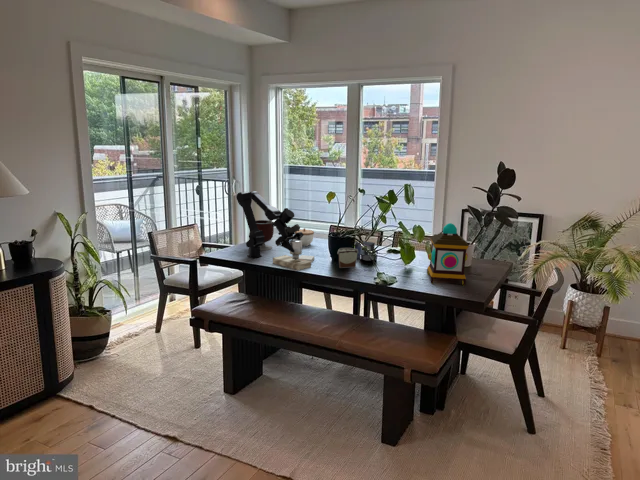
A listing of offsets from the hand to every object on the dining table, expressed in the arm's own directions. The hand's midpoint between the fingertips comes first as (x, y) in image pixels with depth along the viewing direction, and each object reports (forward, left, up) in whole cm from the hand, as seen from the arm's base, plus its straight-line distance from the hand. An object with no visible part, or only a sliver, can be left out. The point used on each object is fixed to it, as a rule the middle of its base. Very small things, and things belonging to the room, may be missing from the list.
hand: (297, 251), depth 263 cm
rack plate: (-5, 0, -9) cm, 10 cm away
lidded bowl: (-35, +42, -9) cm, 56 cm away
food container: (+17, +21, -9) cm, 29 cm away
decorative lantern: (+69, +39, -9) cm, 80 cm away
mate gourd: (-45, +15, -9) cm, 48 cm away
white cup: (-1, 0, -5) cm, 5 cm away
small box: (+15, +41, -9) cm, 45 cm away
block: (-6, +13, -9) cm, 17 cm away
